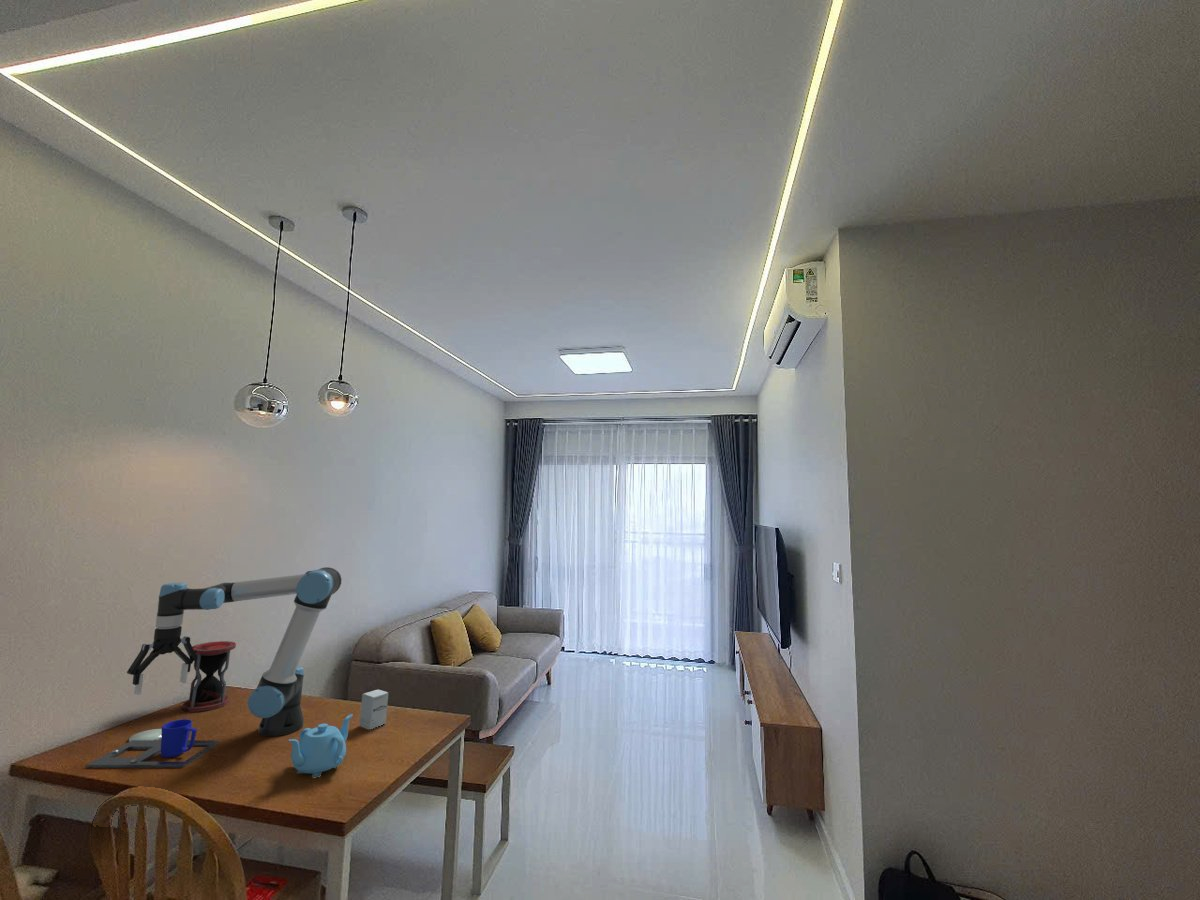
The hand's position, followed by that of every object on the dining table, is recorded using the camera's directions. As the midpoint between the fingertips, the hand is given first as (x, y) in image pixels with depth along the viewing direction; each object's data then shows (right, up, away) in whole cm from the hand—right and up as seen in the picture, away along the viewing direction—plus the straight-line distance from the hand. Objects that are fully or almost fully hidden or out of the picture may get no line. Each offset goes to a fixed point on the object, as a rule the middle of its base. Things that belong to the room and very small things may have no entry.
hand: (161, 688), depth 180 cm
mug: (+11, -21, -6) cm, 24 cm away
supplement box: (+66, -27, +23) cm, 74 cm away
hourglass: (-14, -26, +38) cm, 48 cm away
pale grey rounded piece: (-10, -21, +7) cm, 25 cm away
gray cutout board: (+4, -20, -6) cm, 22 cm away
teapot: (+63, -22, -12) cm, 68 cm away
